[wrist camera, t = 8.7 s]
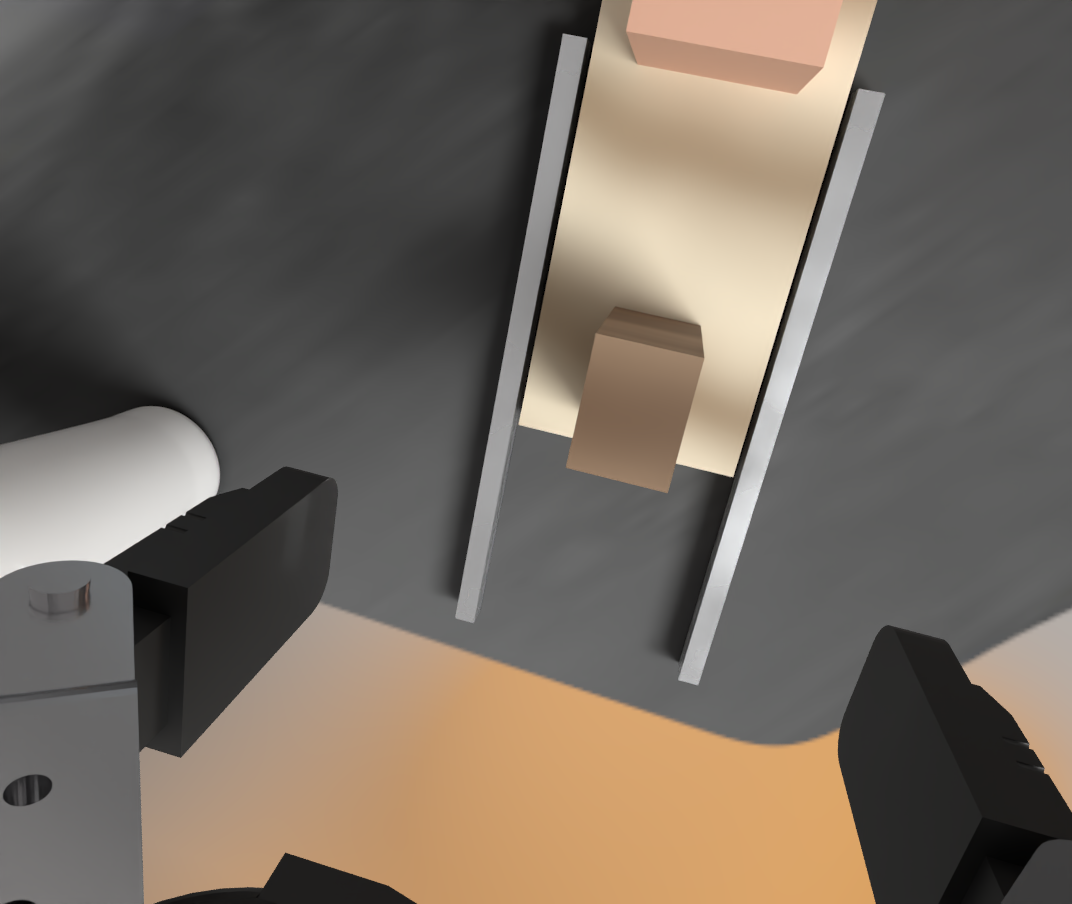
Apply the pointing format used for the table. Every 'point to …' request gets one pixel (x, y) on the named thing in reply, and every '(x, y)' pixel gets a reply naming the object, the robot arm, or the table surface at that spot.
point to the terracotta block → (736, 39)
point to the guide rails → (777, 378)
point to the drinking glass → (100, 486)
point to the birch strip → (677, 255)
